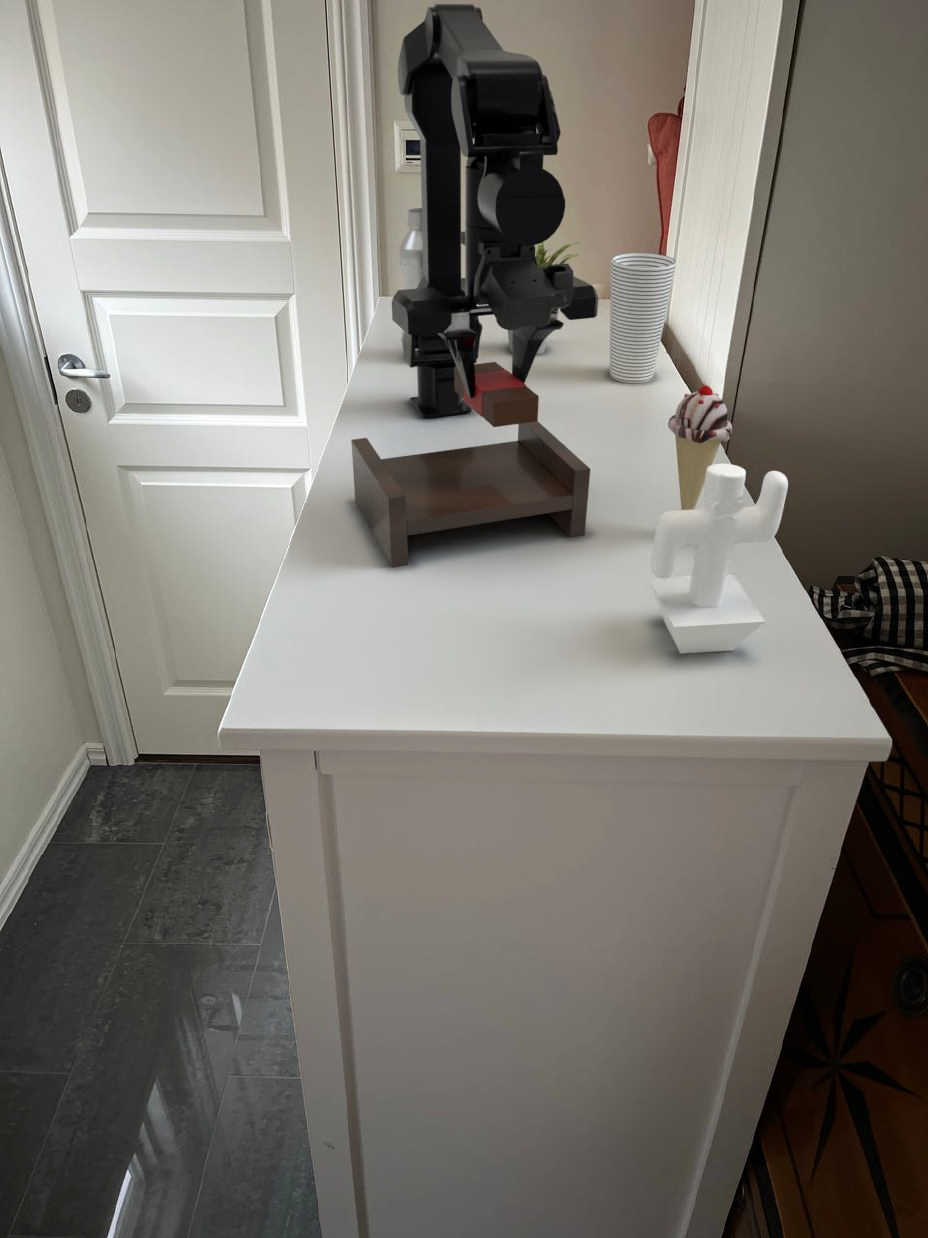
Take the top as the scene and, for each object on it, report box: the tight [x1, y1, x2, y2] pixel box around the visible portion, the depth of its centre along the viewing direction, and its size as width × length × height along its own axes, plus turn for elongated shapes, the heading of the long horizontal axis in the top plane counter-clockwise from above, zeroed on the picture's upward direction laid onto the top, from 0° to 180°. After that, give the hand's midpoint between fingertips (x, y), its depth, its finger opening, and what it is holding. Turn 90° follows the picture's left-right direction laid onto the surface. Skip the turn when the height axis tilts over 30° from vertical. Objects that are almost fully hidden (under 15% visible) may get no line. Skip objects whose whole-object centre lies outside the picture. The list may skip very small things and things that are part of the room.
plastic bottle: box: [398, 207, 423, 352], centre depth 130 cm, size 6×7×20 cm
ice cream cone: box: [667, 384, 733, 510], centre depth 87 cm, size 6×6×15 cm
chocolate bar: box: [454, 361, 540, 428], centre depth 91 cm, size 11×5×3 cm, turn 20°
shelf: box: [350, 420, 591, 568], centre depth 92 cm, size 14×20×7 cm
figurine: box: [648, 463, 789, 655], centre depth 72 cm, size 7×9×15 cm
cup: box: [609, 252, 678, 384], centre depth 125 cm, size 8×8×16 cm
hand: (494, 393), depth 91 cm, fingers closed on chocolate bar, 4 cm apart
